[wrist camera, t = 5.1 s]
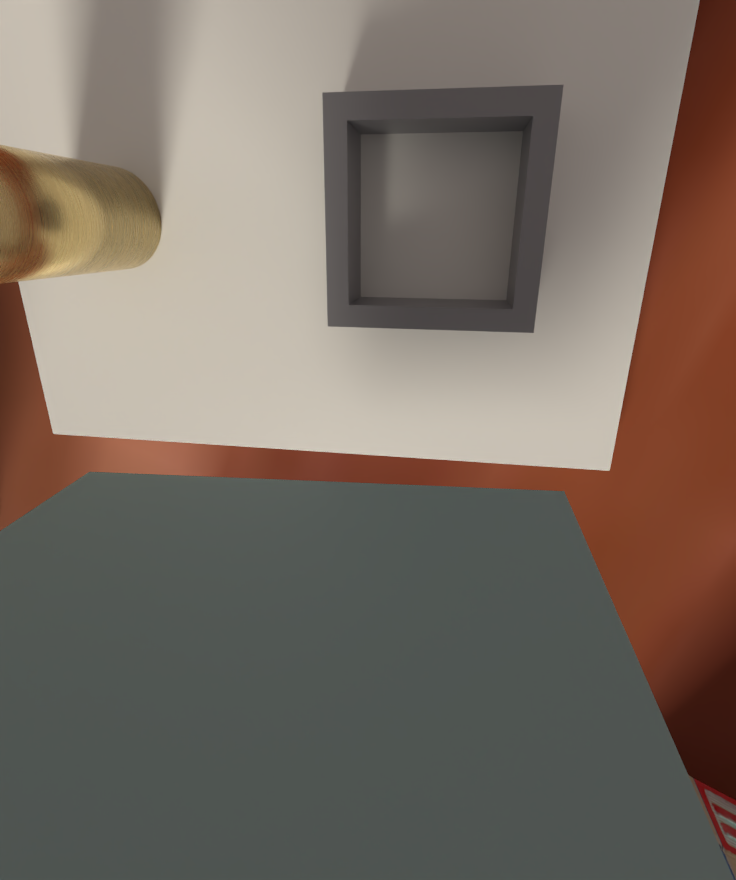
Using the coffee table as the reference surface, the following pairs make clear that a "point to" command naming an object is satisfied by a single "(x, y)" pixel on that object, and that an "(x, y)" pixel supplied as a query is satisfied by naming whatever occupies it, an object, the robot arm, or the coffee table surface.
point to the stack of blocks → (720, 819)
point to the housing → (326, 691)
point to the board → (356, 217)
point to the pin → (71, 217)
